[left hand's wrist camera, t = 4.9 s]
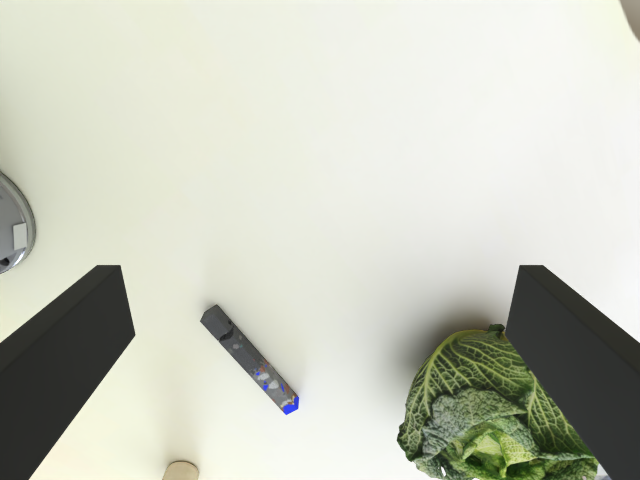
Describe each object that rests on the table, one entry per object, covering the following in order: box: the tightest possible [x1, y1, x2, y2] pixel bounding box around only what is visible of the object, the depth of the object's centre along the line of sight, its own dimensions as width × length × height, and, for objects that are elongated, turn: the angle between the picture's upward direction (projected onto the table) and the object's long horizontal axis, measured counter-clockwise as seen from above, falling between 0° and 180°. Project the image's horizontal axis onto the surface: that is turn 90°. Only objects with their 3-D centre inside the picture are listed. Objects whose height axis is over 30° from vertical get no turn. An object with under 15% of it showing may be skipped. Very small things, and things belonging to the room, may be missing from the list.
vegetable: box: [397, 324, 599, 480], centre depth 48 cm, size 20×19×20 cm
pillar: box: [200, 305, 299, 415], centre depth 55 cm, size 2×2×20 cm
